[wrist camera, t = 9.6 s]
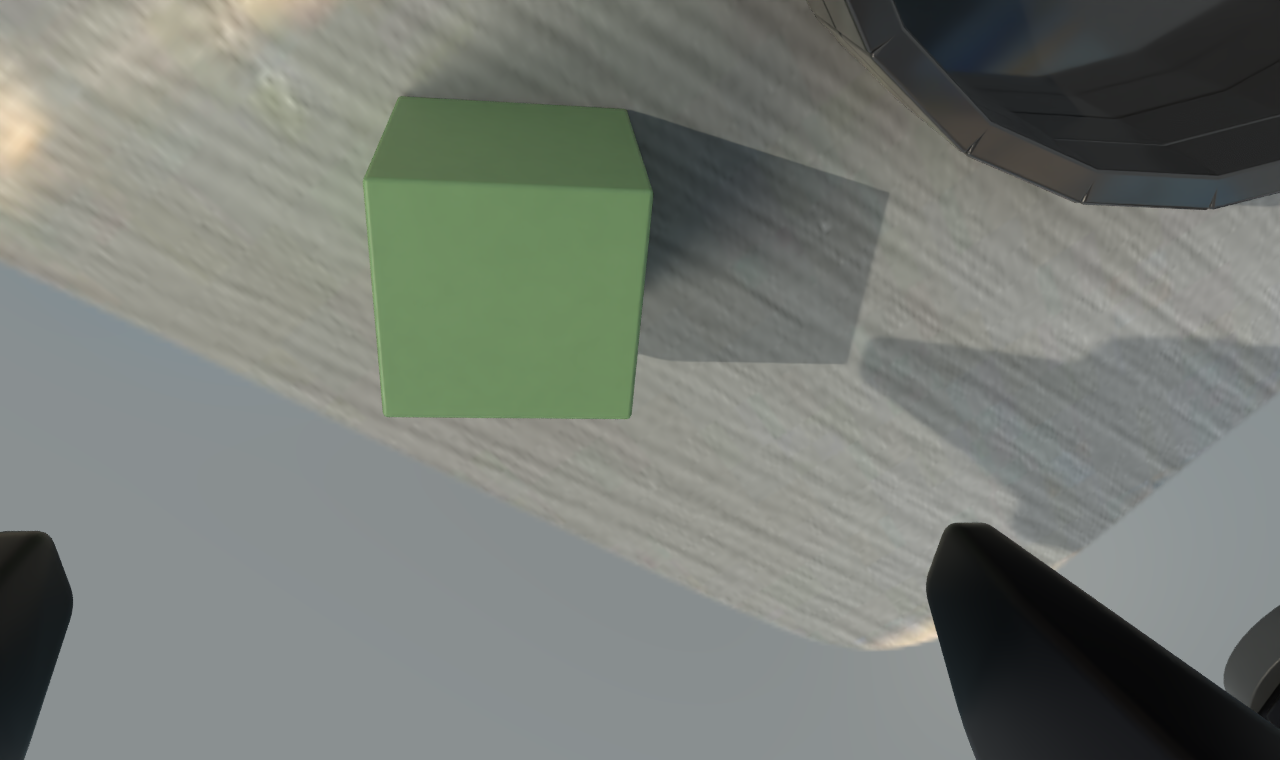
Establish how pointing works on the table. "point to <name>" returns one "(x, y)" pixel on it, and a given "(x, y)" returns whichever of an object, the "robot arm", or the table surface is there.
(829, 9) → the pan
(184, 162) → the table surface
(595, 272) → the block
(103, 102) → the table surface
